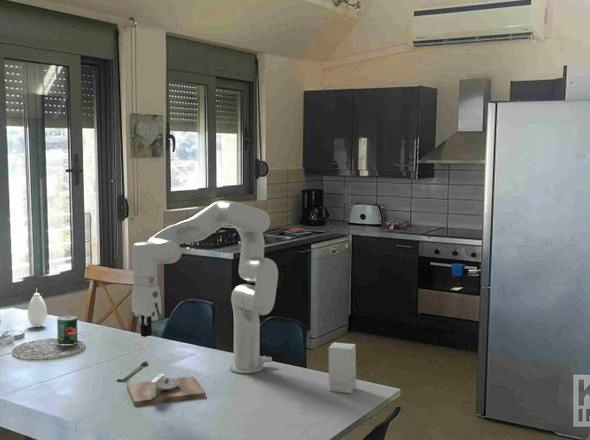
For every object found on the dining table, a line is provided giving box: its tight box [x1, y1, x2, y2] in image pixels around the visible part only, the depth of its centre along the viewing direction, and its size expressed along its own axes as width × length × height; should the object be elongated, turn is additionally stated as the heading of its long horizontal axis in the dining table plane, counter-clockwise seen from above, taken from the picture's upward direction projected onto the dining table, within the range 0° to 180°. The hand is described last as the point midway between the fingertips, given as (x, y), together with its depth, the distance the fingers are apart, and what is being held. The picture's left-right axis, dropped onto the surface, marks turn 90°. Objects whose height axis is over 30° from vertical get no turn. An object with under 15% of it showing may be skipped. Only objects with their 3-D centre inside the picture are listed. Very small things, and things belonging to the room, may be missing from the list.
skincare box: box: [328, 342, 357, 394], centre depth 233 cm, size 8×7×16 cm
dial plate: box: [126, 375, 206, 407], centre depth 229 cm, size 23×17×2 cm
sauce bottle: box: [27, 287, 48, 328], centre depth 307 cm, size 8×8×18 cm
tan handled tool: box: [116, 361, 149, 384], centre depth 248 cm, size 21×7×1 cm, turn 166°
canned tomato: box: [56, 314, 79, 344], centre depth 282 cm, size 8×8×11 cm
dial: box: [150, 373, 179, 397], centre depth 226 cm, size 14×9×5 cm, turn 169°
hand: (146, 335), depth 223 cm, fingers closed
